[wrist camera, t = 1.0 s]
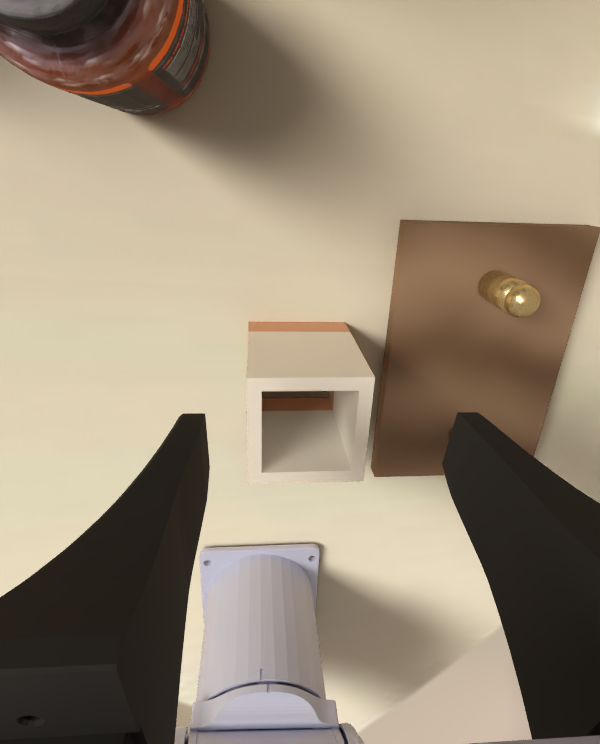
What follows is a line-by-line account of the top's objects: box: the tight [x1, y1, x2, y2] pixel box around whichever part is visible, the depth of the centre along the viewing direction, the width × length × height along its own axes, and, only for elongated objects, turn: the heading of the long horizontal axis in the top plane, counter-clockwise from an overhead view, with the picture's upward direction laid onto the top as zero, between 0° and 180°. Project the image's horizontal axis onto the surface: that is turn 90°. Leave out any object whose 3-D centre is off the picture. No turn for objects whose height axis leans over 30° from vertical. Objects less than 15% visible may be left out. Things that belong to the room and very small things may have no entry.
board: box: [371, 220, 600, 477], centre depth 26 cm, size 15×10×1 cm, turn 178°
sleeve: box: [247, 322, 375, 484], centre depth 23 cm, size 5×5×7 cm
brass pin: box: [478, 270, 540, 318], centre depth 22 cm, size 2×2×4 cm
